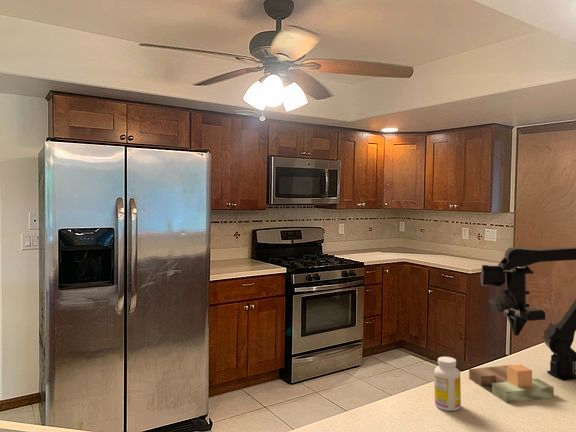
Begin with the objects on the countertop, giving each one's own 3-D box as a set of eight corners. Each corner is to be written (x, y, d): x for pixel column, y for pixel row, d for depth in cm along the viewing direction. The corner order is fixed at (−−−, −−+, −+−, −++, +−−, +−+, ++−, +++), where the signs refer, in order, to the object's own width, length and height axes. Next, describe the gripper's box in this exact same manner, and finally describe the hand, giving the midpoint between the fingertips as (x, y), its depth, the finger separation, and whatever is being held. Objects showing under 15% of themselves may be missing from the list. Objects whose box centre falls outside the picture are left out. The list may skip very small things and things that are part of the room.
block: (521, 379, 128) (521, 364, 128) (532, 385, 124) (532, 370, 124) (507, 380, 128) (507, 365, 127) (517, 387, 123) (517, 371, 123)
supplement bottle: (456, 401, 122) (456, 355, 122) (464, 412, 115) (463, 364, 115) (432, 400, 123) (431, 354, 122) (437, 411, 116) (437, 363, 116)
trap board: (511, 374, 140) (511, 364, 140) (553, 397, 123) (553, 386, 123) (469, 378, 137) (469, 369, 137) (506, 402, 120) (506, 392, 120)
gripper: (475, 283, 148) (475, 329, 149) (514, 294, 130) (514, 346, 130) (504, 281, 150) (504, 326, 151) (546, 292, 132) (546, 343, 132)
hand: (516, 335), depth 141 cm, fingers closed
